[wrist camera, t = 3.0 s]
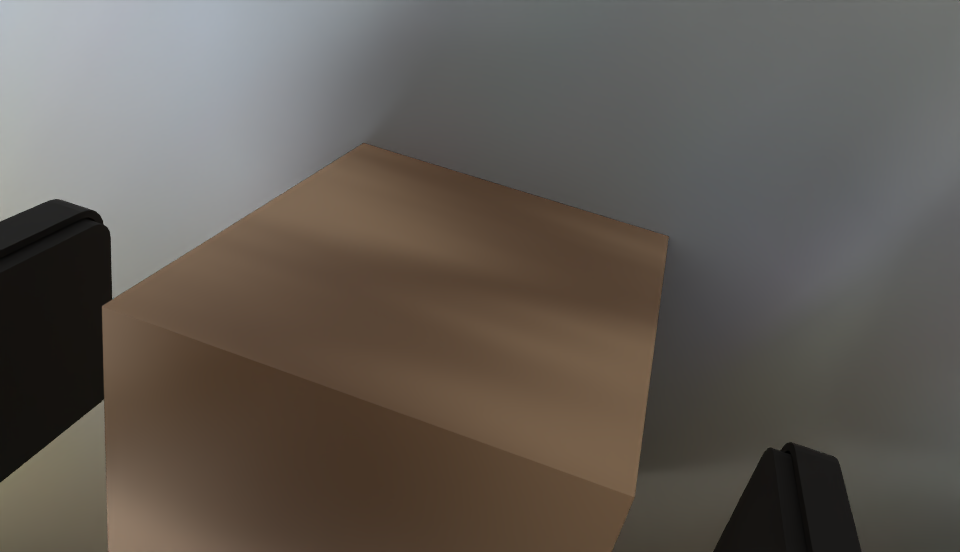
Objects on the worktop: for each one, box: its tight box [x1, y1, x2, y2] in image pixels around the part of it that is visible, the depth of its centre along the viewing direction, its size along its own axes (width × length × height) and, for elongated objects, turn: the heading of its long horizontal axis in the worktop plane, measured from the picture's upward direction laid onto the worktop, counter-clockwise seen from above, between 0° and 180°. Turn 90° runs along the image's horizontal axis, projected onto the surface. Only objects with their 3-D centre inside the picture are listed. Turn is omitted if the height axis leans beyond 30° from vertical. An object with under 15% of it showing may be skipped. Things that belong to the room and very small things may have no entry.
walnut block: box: [102, 143, 669, 552], centre depth 10 cm, size 5×5×6 cm
